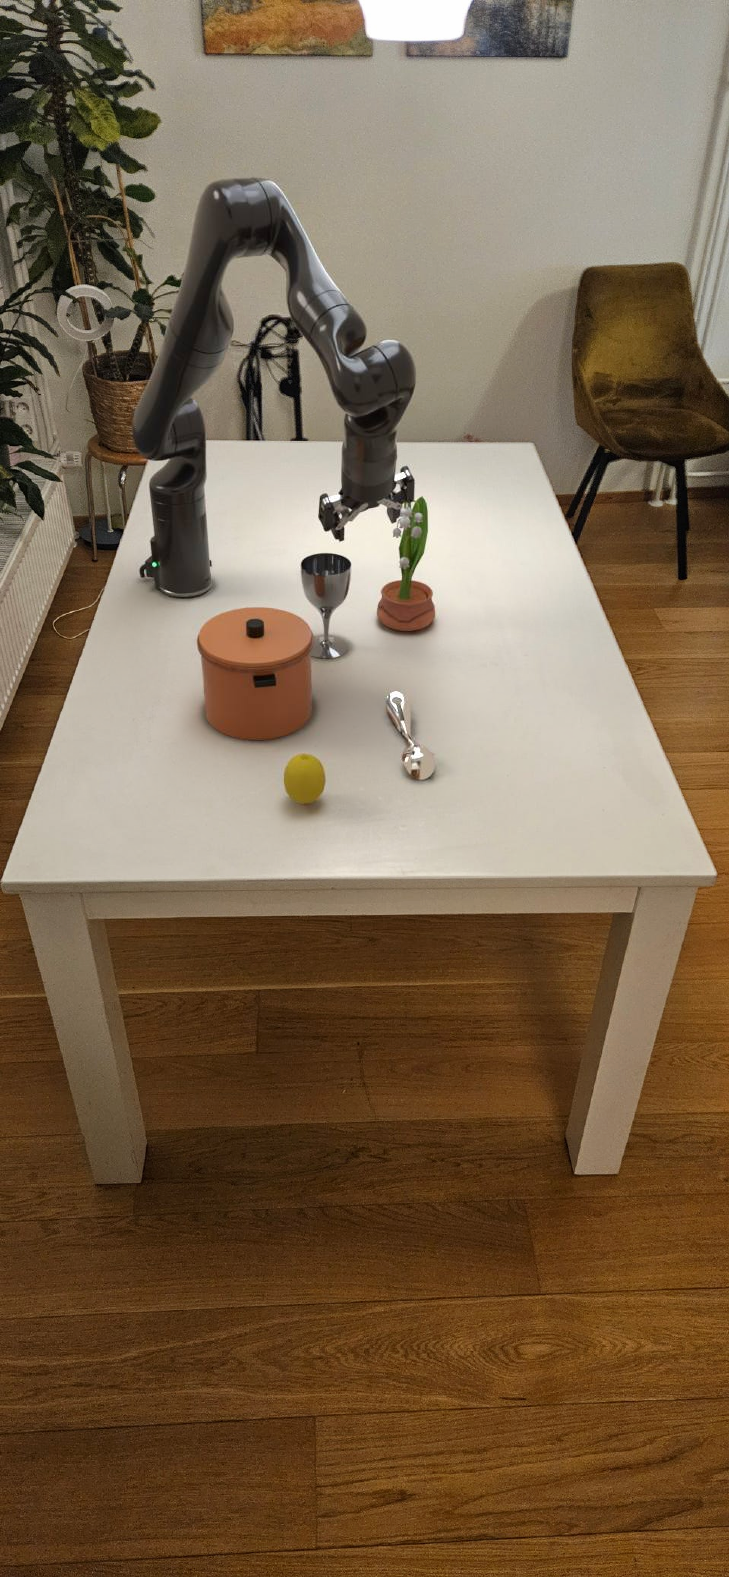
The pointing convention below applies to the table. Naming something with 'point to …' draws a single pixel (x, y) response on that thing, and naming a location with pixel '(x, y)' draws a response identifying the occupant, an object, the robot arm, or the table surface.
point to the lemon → (304, 778)
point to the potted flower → (408, 575)
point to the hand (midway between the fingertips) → (365, 527)
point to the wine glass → (326, 596)
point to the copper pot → (256, 672)
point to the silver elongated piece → (411, 741)
